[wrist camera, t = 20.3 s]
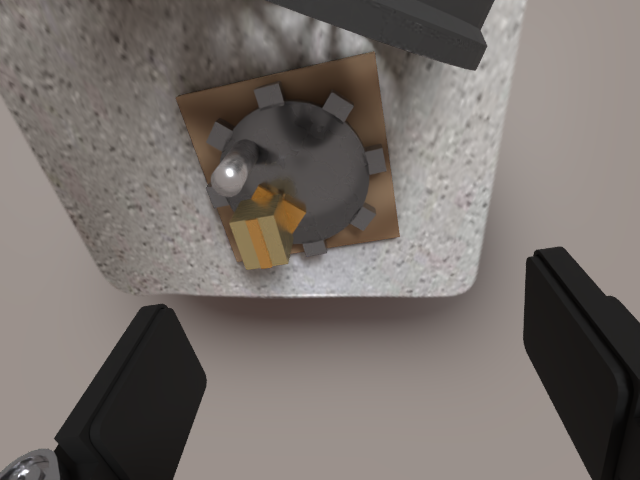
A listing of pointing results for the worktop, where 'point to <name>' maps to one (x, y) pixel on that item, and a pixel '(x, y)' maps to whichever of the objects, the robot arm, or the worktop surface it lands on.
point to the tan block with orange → (262, 232)
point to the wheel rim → (409, 24)
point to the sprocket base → (312, 85)
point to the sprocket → (297, 164)
